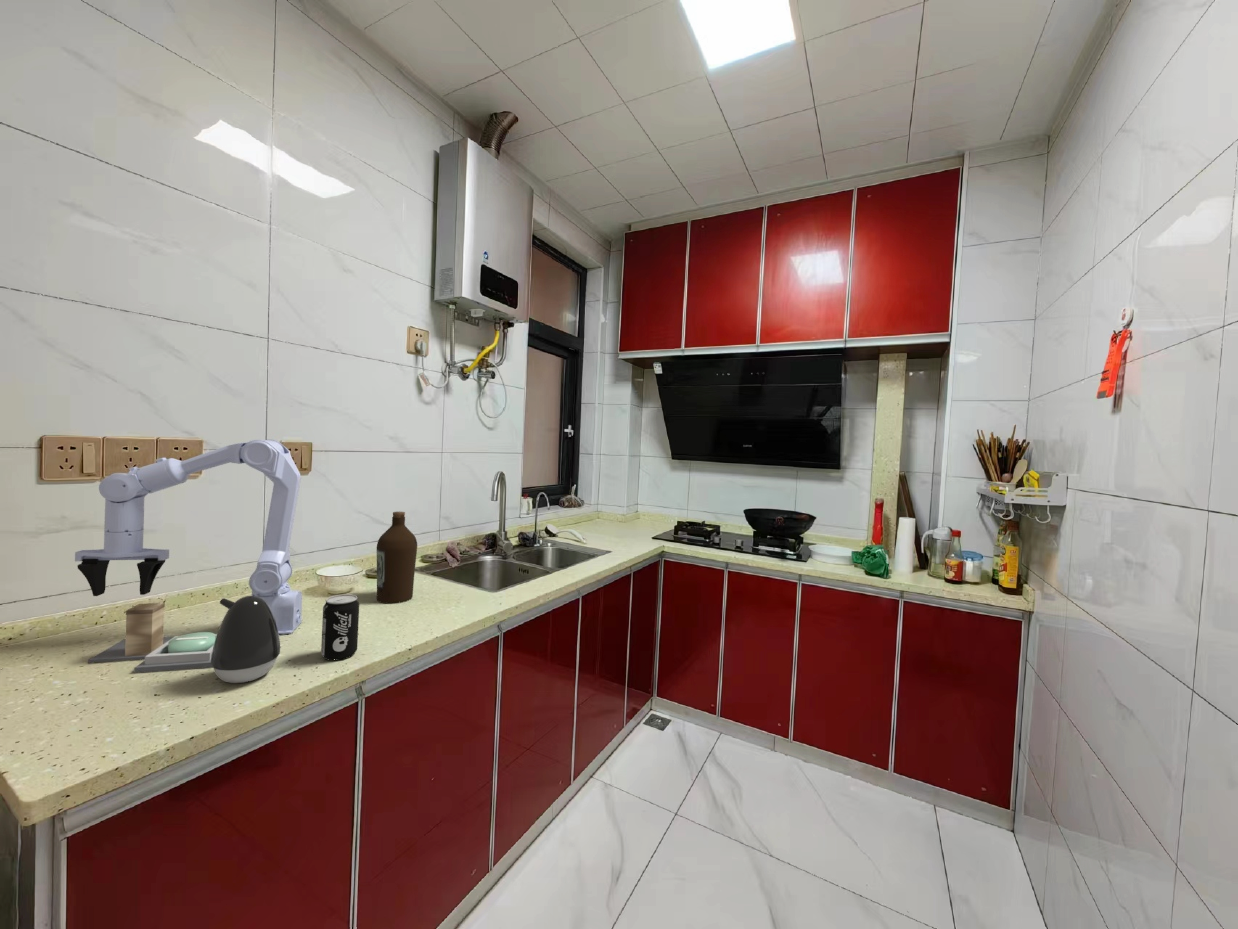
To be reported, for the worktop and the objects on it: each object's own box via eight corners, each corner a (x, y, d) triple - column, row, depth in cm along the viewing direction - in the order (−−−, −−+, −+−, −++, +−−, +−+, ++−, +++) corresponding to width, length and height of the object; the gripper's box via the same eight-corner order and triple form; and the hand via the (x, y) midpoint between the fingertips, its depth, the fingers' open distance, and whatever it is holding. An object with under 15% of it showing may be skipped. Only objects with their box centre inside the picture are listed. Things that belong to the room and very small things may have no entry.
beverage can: (364, 651, 102) (366, 596, 102) (337, 664, 96) (339, 605, 95) (341, 646, 104) (343, 591, 104) (313, 657, 98) (315, 600, 97)
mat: (182, 638, 103) (182, 636, 103) (154, 658, 93) (154, 655, 93) (123, 642, 100) (123, 639, 100) (88, 663, 90) (88, 660, 90)
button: (221, 642, 100) (221, 630, 99) (204, 657, 93) (204, 643, 93) (180, 645, 97) (180, 632, 97) (159, 660, 91) (159, 646, 91)
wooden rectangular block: (163, 646, 98) (164, 602, 97) (151, 654, 94) (152, 609, 93) (137, 647, 96) (139, 603, 96) (124, 656, 92) (126, 610, 92)
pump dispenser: (240, 662, 94) (243, 586, 94) (292, 666, 94) (295, 590, 93) (193, 687, 84) (196, 602, 83) (250, 692, 84) (253, 607, 83)
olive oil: (410, 591, 144) (414, 509, 143) (418, 601, 136) (422, 514, 135) (371, 595, 138) (375, 510, 137) (377, 606, 129) (381, 515, 129)
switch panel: (240, 642, 103) (241, 631, 103) (213, 667, 91) (213, 654, 91) (171, 646, 99) (172, 634, 99) (134, 673, 88) (134, 659, 87)
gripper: (178, 527, 106) (175, 587, 106) (93, 526, 101) (91, 589, 101) (158, 532, 99) (156, 597, 99) (67, 532, 94) (65, 600, 95)
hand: (122, 594), depth 100 cm, fingers open, 7 cm apart
